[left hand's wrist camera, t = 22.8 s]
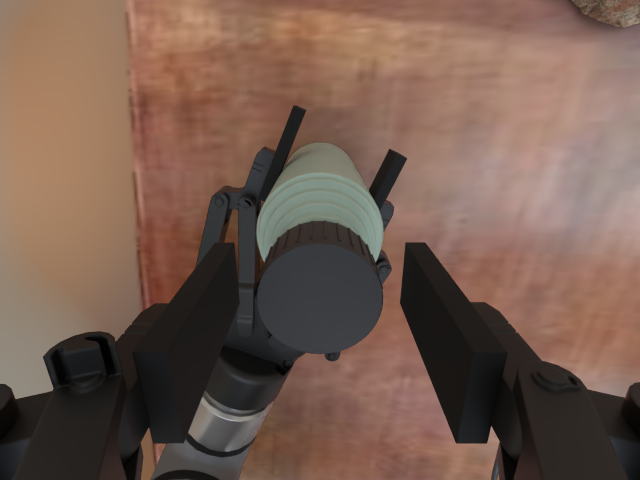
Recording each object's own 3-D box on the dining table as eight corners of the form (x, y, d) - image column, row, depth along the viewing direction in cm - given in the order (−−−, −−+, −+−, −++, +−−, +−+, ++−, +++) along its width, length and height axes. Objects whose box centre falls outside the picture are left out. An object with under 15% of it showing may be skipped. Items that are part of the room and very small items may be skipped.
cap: (383, 305, 15) (395, 341, 13) (282, 327, 15) (276, 366, 13) (362, 206, 14) (370, 227, 11) (250, 234, 14) (237, 259, 12)
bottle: (330, 228, 33) (343, 389, 15) (269, 191, 32) (198, 314, 13) (371, 169, 31) (448, 266, 13) (308, 126, 30) (288, 166, 11)
